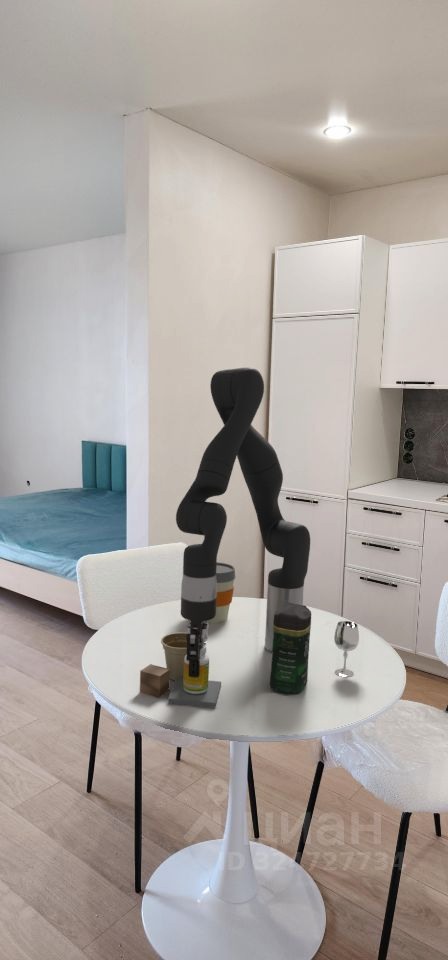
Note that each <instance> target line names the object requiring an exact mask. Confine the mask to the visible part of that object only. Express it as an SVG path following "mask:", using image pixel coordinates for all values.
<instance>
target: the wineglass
mask: <svg viewBox="0 0 448 960" xmlns="http://www.w3.org/2000/svg"><path fill="white" fill-rule="evenodd" d="M334 630H335V631H334V637H333V638H334V639H333V640H334V641H333V642H334V643H335V646H336V647H337V648H338V649H339V650H341V651H342V652H343V654H342V655H343V667H342V668H337V669H335V670H334V673H335V674H336V675H337V676H340V677H344V678H350V676H351V677H353V676H354V674H355V673H354V671H353V670H351V669H348V668H347V667H346V666H347V659H348V655H349V654H348V652H350V651H354V650H356V649H357V647H358V646H359V643H360V631H359V627H358V623H356V622H354V621H350V620H349V621H348V620H341V621H338V622H337V624H336V627H335V629H334Z"/></svg>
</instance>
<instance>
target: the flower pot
mask: <svg viewBox="0 0 448 960" xmlns="http://www.w3.org/2000/svg"><path fill="white" fill-rule="evenodd" d="M186 636H187V632H172V633H169V634H166V635H163V636H162V637H161V639H160V643H161V645H162V648H163V650H164V658H165V666H166V667H165V668H167V669H170V679H171V680H173V681H175V682H176V679H177V678H184V658H185V656H186V655H187V638H186Z"/></svg>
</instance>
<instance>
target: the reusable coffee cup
mask: <svg viewBox="0 0 448 960" xmlns="http://www.w3.org/2000/svg"><path fill="white" fill-rule="evenodd" d="M235 568H236V567H234V565H231V564H229V563H225V562H220V561H219V562H217V566H216V580H217V599H216V616H215V617H214V618H213V619H211V620H208V624H209V623H210V624H211V623H212V624H213V623H215V624H217V623H223V622H225V621H227V620H228V617H229V611H230V607H231V606H230V605H231V604H232V601H233V596H234V591H235V586H234V581H235V579H236V569H235Z"/></svg>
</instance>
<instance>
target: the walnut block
mask: <svg viewBox="0 0 448 960" xmlns="http://www.w3.org/2000/svg"><path fill="white" fill-rule="evenodd" d="M139 672H140V674H139V675H140V676H139V693H140V694H144V695H148V696H151V697H155V698H158V699H160V698H161V697H163V696H164V695H165V694H167V693H168V692H169V691H170V682H171V681H170V680H171V678H170V669H167V667H162V666H159V665H155V664H152V663H150V664H149V665H147V666H144V668H142V669H141V670H140V671H139Z"/></svg>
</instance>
